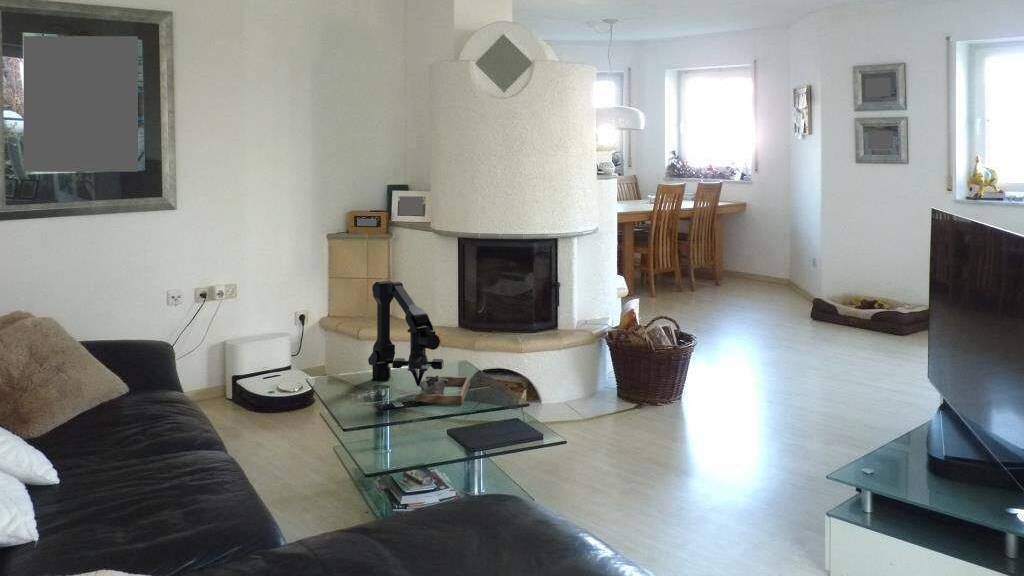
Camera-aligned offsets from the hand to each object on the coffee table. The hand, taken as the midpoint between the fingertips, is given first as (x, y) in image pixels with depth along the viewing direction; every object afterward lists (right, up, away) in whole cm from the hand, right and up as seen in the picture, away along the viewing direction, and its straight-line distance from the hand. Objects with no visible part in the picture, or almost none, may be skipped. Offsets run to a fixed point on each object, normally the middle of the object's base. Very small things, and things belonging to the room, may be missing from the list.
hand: (418, 386), depth 350 cm
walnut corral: (+9, -3, 0) cm, 9 cm away
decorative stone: (+3, +1, -5) cm, 6 cm away
